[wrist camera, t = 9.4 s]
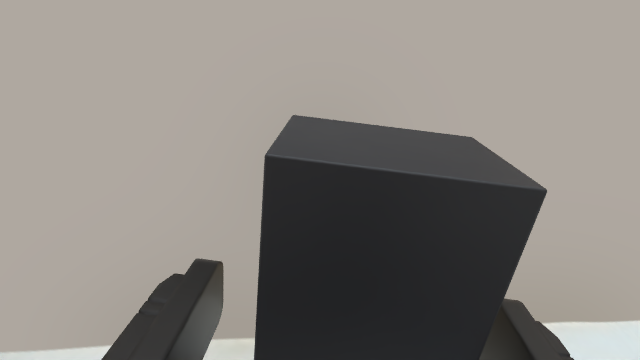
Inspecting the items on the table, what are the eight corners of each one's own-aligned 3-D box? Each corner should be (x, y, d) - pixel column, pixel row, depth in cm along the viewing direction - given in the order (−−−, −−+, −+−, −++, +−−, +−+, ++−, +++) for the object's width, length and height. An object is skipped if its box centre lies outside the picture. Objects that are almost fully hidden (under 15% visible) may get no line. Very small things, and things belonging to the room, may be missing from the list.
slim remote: (381, 441, 13) (470, 135, 8) (395, 568, 10) (549, 189, 5) (267, 425, 13) (293, 113, 8) (243, 547, 10) (264, 154, 5)
